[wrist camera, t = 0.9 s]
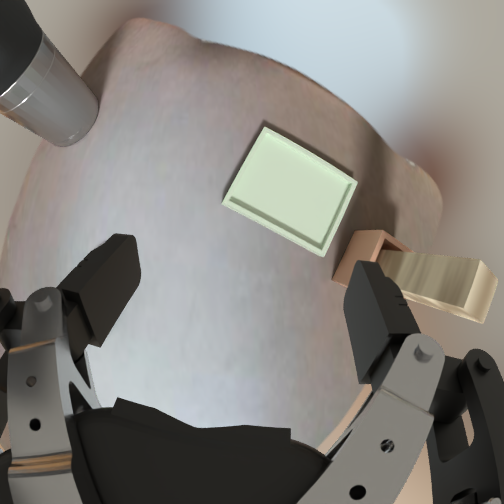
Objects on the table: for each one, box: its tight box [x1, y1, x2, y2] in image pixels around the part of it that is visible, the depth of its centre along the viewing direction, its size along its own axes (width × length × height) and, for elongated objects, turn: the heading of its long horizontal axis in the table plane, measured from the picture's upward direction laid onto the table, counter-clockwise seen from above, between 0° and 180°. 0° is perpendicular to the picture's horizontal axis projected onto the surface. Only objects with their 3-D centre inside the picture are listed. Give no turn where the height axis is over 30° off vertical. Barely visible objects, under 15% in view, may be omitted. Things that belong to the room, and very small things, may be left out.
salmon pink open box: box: [332, 230, 414, 299], centre depth 33 cm, size 7×7×7 cm
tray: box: [222, 127, 358, 257], centre depth 34 cm, size 14×11×2 cm
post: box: [375, 249, 498, 324], centre depth 26 cm, size 4×4×20 cm
